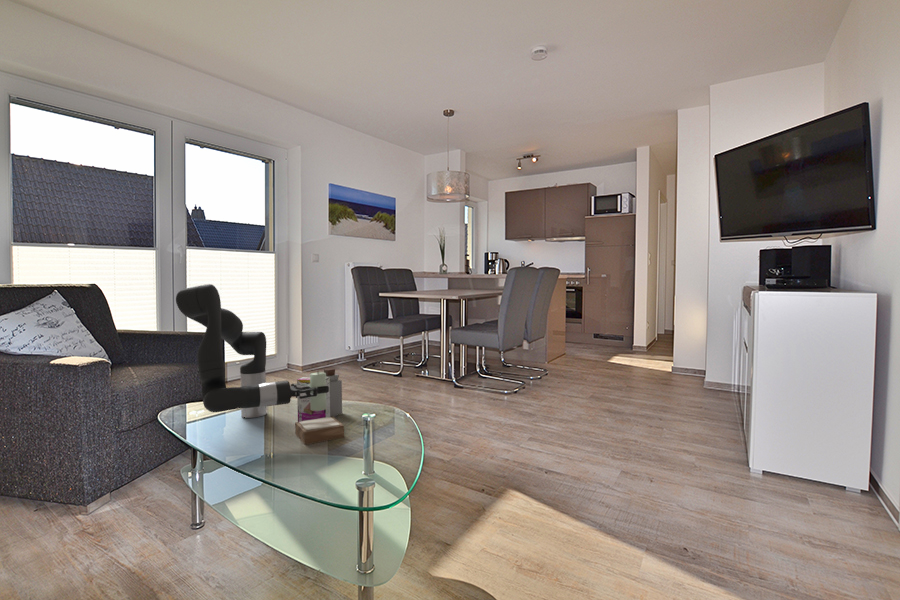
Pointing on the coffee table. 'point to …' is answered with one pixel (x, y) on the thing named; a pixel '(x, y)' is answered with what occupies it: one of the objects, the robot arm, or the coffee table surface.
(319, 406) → the pillar candle
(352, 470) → the coffee table surface
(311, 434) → the walnut plinth
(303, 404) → the candy bar box
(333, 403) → the perfume bottle
